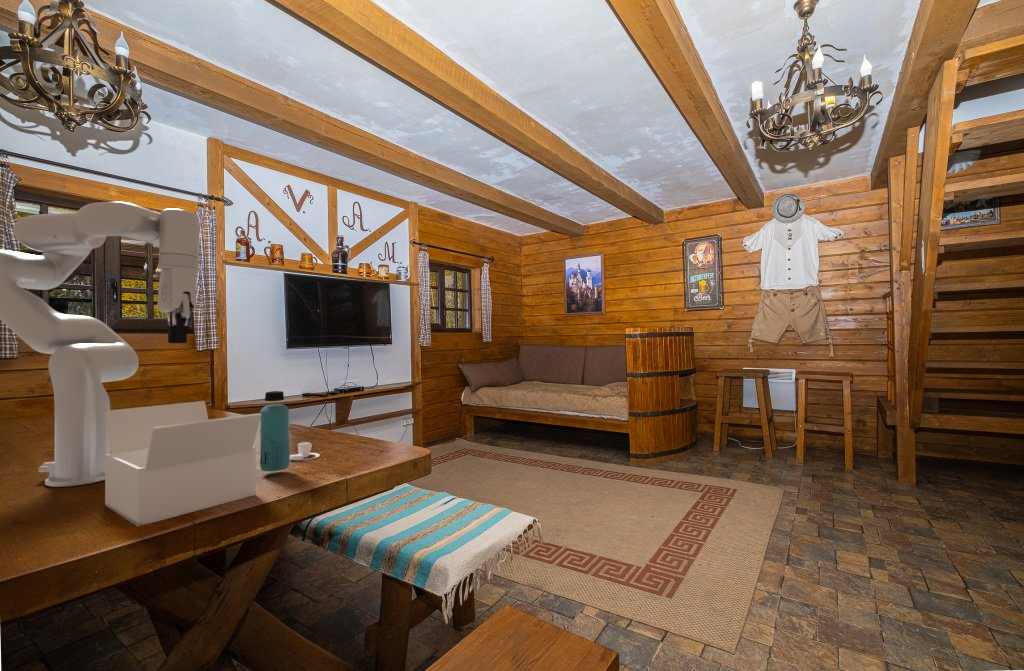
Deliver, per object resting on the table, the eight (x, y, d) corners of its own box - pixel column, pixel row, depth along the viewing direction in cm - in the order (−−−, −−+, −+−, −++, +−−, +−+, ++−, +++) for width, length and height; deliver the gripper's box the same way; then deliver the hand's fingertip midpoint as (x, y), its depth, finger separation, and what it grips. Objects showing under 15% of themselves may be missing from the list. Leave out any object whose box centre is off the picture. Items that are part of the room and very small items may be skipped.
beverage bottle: (295, 470, 115) (295, 389, 115) (279, 478, 109) (279, 393, 109) (270, 469, 116) (270, 389, 116) (253, 477, 109) (253, 392, 109)
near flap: (144, 467, 82) (145, 469, 81) (153, 426, 80) (154, 428, 79) (250, 447, 97) (251, 449, 96) (260, 413, 94) (261, 414, 94)
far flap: (105, 410, 94) (105, 411, 95) (111, 453, 92) (111, 454, 92) (204, 400, 109) (203, 401, 109) (212, 437, 107) (210, 438, 107)
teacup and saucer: (294, 464, 123) (294, 448, 123) (279, 459, 127) (279, 444, 127) (325, 457, 130) (325, 442, 130) (310, 453, 134) (310, 439, 134)
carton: (137, 526, 81) (137, 469, 81) (105, 505, 91) (105, 454, 91) (255, 494, 97) (255, 446, 97) (216, 479, 108) (216, 436, 108)
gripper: (148, 264, 109) (146, 342, 109) (171, 258, 100) (170, 343, 100) (185, 268, 115) (183, 342, 115) (210, 263, 107) (209, 343, 106)
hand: (177, 342), depth 108 cm, fingers closed
